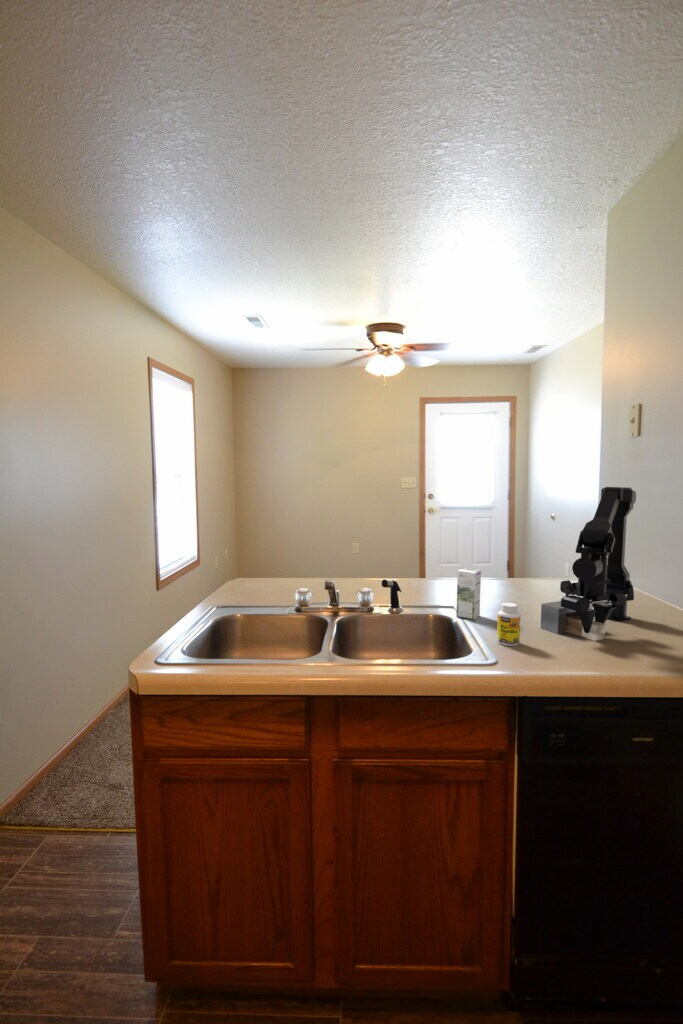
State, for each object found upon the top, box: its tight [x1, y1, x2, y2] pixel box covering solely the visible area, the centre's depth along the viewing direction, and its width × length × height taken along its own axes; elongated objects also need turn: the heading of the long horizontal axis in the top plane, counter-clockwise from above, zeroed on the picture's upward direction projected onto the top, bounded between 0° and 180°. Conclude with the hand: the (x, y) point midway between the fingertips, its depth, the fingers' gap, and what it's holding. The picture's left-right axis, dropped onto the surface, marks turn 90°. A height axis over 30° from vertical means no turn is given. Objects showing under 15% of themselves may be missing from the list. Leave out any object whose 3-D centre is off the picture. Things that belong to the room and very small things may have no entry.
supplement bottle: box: [496, 602, 521, 647], centre depth 135 cm, size 6×6×10 cm
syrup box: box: [456, 567, 482, 620], centre depth 160 cm, size 6×6×14 cm
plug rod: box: [565, 613, 607, 642], centre depth 146 cm, size 4×16×4 cm, turn 26°
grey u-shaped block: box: [540, 600, 579, 635], centre depth 149 cm, size 12×6×7 cm, turn 116°
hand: (592, 631), depth 141 cm, fingers closed on plug rod, 4 cm apart
